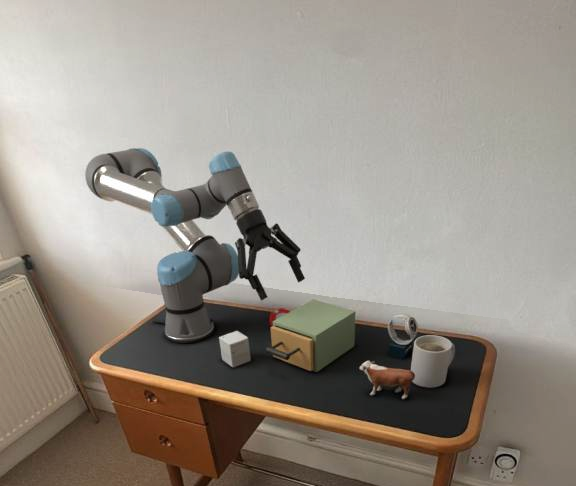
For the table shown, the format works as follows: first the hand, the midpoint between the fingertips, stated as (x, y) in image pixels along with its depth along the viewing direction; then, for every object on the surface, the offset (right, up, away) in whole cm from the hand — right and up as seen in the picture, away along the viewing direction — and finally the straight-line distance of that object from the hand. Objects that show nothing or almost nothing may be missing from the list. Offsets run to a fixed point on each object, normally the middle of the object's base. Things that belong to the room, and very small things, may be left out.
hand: (283, 289), depth 128 cm
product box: (-13, -19, +3) cm, 24 cm away
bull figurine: (+25, -30, -14) cm, 41 cm away
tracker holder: (+1, -5, +20) cm, 20 cm away
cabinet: (+9, -16, +5) cm, 19 cm away
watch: (+33, -17, +2) cm, 37 cm away
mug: (+38, -26, -9) cm, 47 cm away
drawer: (+6, -18, +1) cm, 19 cm away
